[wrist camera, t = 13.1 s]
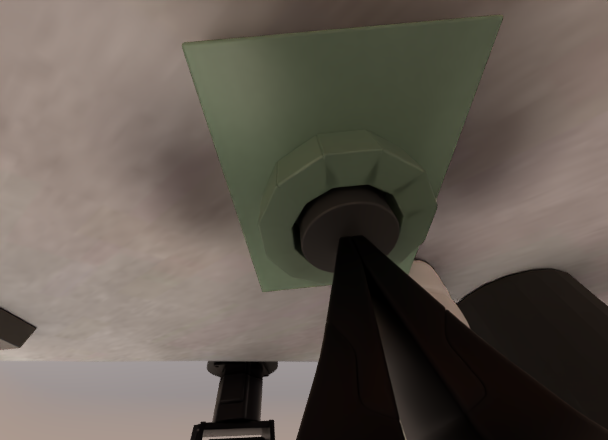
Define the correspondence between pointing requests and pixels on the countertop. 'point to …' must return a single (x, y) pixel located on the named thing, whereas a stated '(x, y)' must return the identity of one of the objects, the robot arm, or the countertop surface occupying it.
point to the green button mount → (337, 125)
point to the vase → (548, 334)
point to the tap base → (13, 331)
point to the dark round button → (345, 223)
